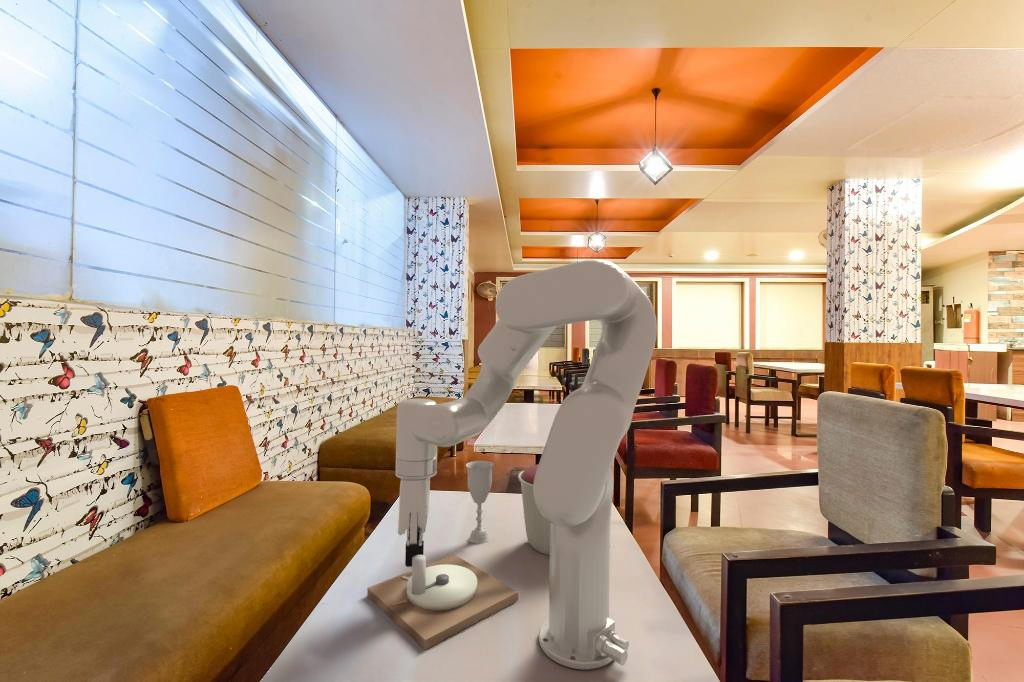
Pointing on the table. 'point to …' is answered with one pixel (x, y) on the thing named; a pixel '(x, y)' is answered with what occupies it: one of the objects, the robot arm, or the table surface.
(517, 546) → the table surface
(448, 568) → the dial
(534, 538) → the canister
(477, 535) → the chalice
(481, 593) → the dial base
